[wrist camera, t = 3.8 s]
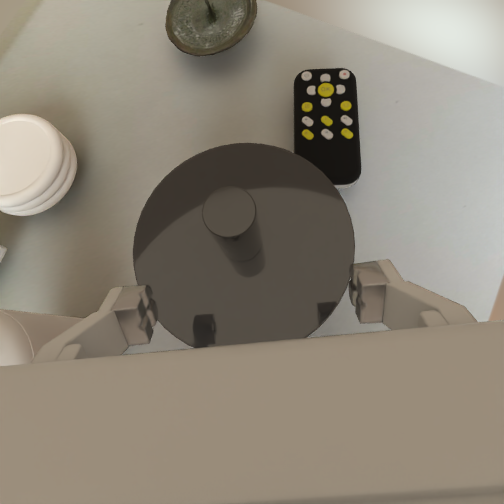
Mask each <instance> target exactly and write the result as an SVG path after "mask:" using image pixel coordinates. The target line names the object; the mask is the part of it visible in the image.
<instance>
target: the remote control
mask: <svg viewBox="0 0 504 504" xmlns="http://www.w3.org/2000/svg"><path fill="white" fill-rule="evenodd" d="M294 154H297V155H299V156H301V157H302V158H304V159H306V160H307V161H309V162H310V163H312V164H313V165H314V166H316V167H317V168H318V169H319V170H320V171H322V172H323V173H324V174H325V176H326V177H327V178H328V179H329V180H330V181H331V182H332V183H333V185H334V186H335V187H336V188H348V187H351V186H352V185H354V184H355V183H356V182H357V180H358V179H359V176H360V174H361V156H360V139H359V122H358V105H357V87H356V78H355V76H354V74H353V73H352V72H351V71H349V70H347V69H344V68H335V69H310V70H305V71H302V72H301V73H299V74H298V75H297V77H296V78H295V81H294Z"/></svg>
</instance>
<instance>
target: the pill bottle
mask: <svg viewBox="0 0 504 504" xmlns="http://www.w3.org/2000/svg"><path fill="white" fill-rule="evenodd" d="M83 319H84V318H77V317H68V316H59V315H50V314H40V313H31V312H22V311H13V310H3V309H0V366H9V365H20V364H30V363H31V361H32V360H33V358H34V357H35V356H36V354H37V353H38V351H39V350H40V348H41V347H42V346H43V345H45V344H46V343H48V342H49V341H51V340H52V339H54V338H55V337H57V336H58V335H60V334H61V333H63V332H65V331H66V330H68V329H69V328H71V327H72V326H74V325H75V324H77V323H78V322H80V321H81V320H83Z"/></svg>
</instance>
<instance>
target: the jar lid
mask: <svg viewBox="0 0 504 504" xmlns="http://www.w3.org/2000/svg"><path fill="white" fill-rule="evenodd" d="M354 254H355V240H354V230H353V226H352V221H351V217H350V215H349V212H348V209H347V207H346V204H345V202H344V200H343V199H342V197H341V195H340V193H339V192H338V190H337V189H336V187H335V186H334V185H333V183H332V182H331V181H330V180H329V179H328V178H327V177H326V176H325V174H324V173H323V172H322V171H320V170H319V169H318V168H317V167H316V166H314V165H313V164H312V163H310V162H309V161H307V160H306V159H304V158H302V157H301V156H299V155H297V154H294V153H292V152H290V151H288V150H285V149H282V148H279V147H275V146H270V145H265V144H257V143H237V144H230V145H224V146H219V147H216V148H212V149H209V150H207V151H204V152H202V153H199V154H197V155H195V156H193V157H192V158H190V159H188V160H186V161H184V162H183V163H182V164H180V165H179V166H178V167H176V168H175V169H174V170H172V171H171V172H170V173H169V174H168V175H167V176H166V177H165V178H164V179H163V180H162V181H161V182H160V184H159V185H158V186H157V187H156V188H155V190H154V191H153V193H152V194H151V196H150V197H149V199H148V200H147V202H146V204H145V206H144V208H143V210H142V212H141V215H140V218H139V221H138V223H137V227H136V232H135V236H134V246H133V262H134V270H135V276H136V280H137V283H138V285H149V286H151V289H152V292H153V294H152V296H151V298H152V299H153V300H154V301H156V304H157V309H158V319H157V320H158V321H159V322H160V323H161V324H162V326H163V327H164V328H165V329H167V330H168V331H169V332H170V333H171V334H172V335H174V336H175V337H176V338H178V339H179V340H181V341H183V342H184V343H186V344H187V345H189V346H192V347H194V348H204V347H215V346H226V345H237V344H248V343H259V342H269V341H280V340H291V339H302V338H306V337H308V336H309V335H310V334H311V333H313V332H314V331H315V330H316V329H318V328H319V327H320V326H321V325H322V324H323V323H324V322H325V321H326V319H327V318H328V317H329V316H330V315H331V314H332V312H333V311H334V309H335V308H336V307H337V305H338V304H339V302H340V300H341V298H342V296H343V294H344V293H345V291H346V288H347V286H348V283H349V280H350V277H351V276H350V274H349V267H350V264H353V263H354Z"/></svg>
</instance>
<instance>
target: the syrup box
mask: <svg viewBox="0 0 504 504" xmlns="http://www.w3.org/2000/svg"><path fill="white" fill-rule="evenodd" d="M6 251H7V248H5V247H4V246H2V245H0V262H1V260H2V258H3V257H4V255H5V253H6Z"/></svg>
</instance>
